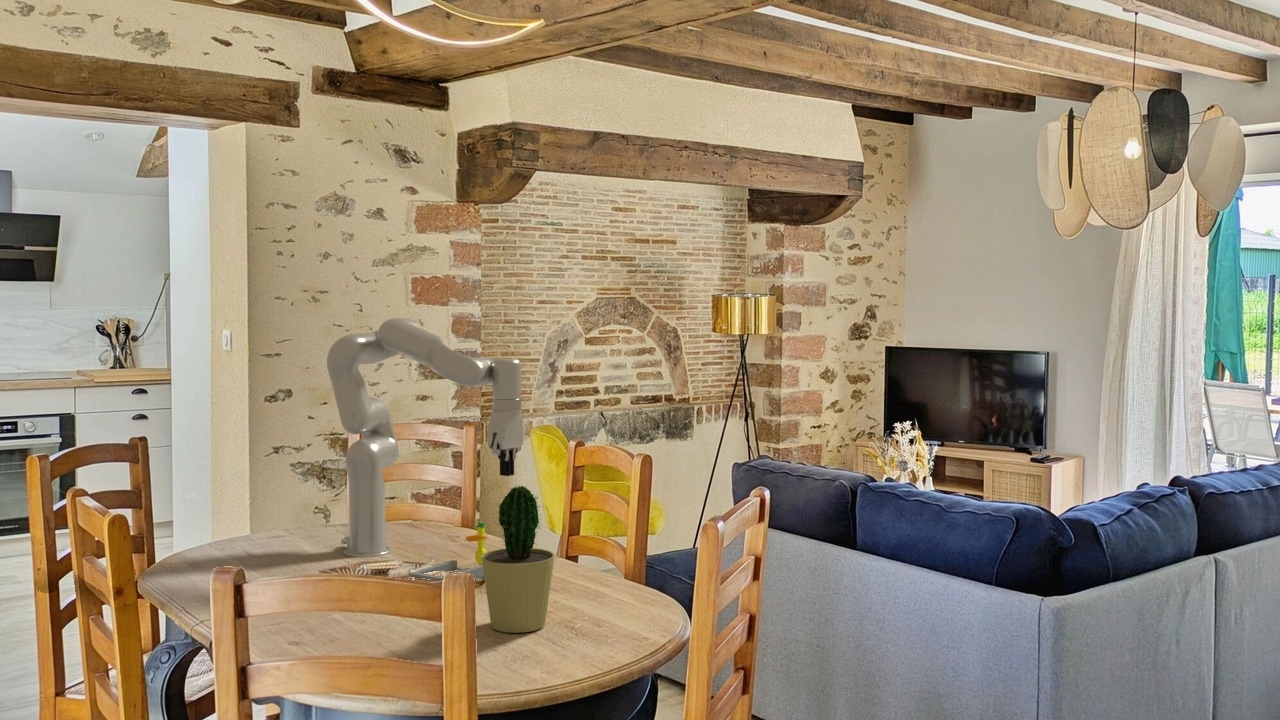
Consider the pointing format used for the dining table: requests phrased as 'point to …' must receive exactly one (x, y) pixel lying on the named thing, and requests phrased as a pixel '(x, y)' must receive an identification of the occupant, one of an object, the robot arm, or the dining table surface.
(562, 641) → the dining table surface
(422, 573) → the u rest
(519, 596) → the potted cactus
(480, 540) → the toy figure
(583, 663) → the dining table surface
